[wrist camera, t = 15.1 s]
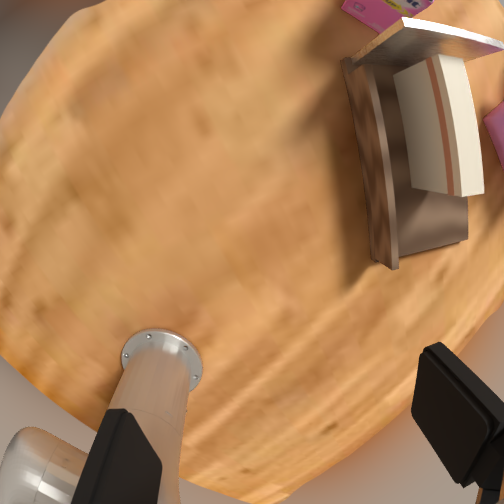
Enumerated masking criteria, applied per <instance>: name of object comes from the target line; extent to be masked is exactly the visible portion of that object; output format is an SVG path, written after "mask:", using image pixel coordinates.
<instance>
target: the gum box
mask: <svg viewBox="0 0 504 504" xmlns="http://www.w3.org/2000/svg"><path fill="white" fill-rule="evenodd" d="M433 2H434V0H345V2H344V3H343V5H342V7H341V9H342V10H344V11H345V12H347V13H349V14H350V15H352V16H354V17H355V18H356V19H358V20H359V21H361V22H363V23H364V24H366V25H367V26H369V27H370V28H372V29H374V30H375V31H376V32H378V33H379V34H381V33H382V32H384V31H385V30H386V29H387V28H389V27H390V26H391V25H393V24H394V23H395V22H397V21H398V20H399V19H401V18H402V17H404V18H412V17H413V16H415V15H416V14H418V13H419V12H421V11H423V10H424V9H426V8H427V7H428V6H430V5H431V4H432V3H433Z"/></svg>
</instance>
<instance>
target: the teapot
mask: <svg viewBox="0 0 504 504" xmlns="http://www.w3.org/2000/svg"><path fill="white" fill-rule="evenodd" d="M483 121H484V124H485V126H486V128H487V130H488V133H489V135H490V137H491V140H492V142H493V145H494V147H495V150H496V152H497V155H498V157H499V160H500V163H501V166H502V168H503V171H504V101H503V102H501V103H500V104H499V105H498V106H497V107H496V108H495V109H493V110H492V111H491V112H490V113H489V114H488V115H486V116H485V117H484V118H483Z"/></svg>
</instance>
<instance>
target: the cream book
mask: <svg viewBox="0 0 504 504" xmlns="http://www.w3.org/2000/svg"><path fill="white" fill-rule="evenodd" d="M393 78H394V83H395V87H396V91H397V96H398V101H399V106H400V111H401V116H402V121H403V127H404V133H405V139H406V146H407V152H408V160H409V168H410V176H411V186H412V188H416V189H422V190H428V191H433V192H439V193H444V194H448V195H452V196H460V197H465V196H471V195H477V194H484V180H483V167H482V157H481V148H480V140H479V133H478V126H477V120H476V114H475V109H474V104H473V99H472V94H471V90H470V85H469V81H468V77H467V73H466V69H465V66H464V62H463V58H458V57H453V56H447V55H441V54H437V55H435V56H433V57H429V58H427V59H425V60H424V61H422V62H419V63H417V64H415V65H413V66H411V67H409V68H407V69H405V70H402V71H400V72H398V73H396V74H394V75H393Z"/></svg>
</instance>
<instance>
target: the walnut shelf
mask: <svg viewBox="0 0 504 504" xmlns="http://www.w3.org/2000/svg"><path fill="white" fill-rule="evenodd" d="M340 62H341V66H342V70H343V74H344V78H345V82H346V86H347V91H348V95H349V100H350V105H351V110H352V115H353V120H354V125H355V131H356V136H357V142H358V148H359V154H360V160H361V167H362V174H363V181H364V189H365V197H366V206H367V215H368V225H369V236H370V249H371V260H373V261H374V262H381V263H382V264H384V265H385V266H386V267H388V268H389V269H391V270H396V269H399V257H400V256H404V255H409V254H413V253H417V252H421V251H425V250H429V249H433V248H436V247H440V246H444V245H448V244H452V243H456V242H459V241H463V240H467V239H468V200H467V196H465V197H460V196H452V195H448V194H444V193H439V192H433V191H428V190H422V189H416V188H412V186H411V176H410V168H409V160H408V152H407V146H406V139H405V133H404V127H403V121H402V116H401V111H400V106H399V101H398V96H397V91H396V87H395V83H394V78H393V75H394V74H396V73H398V72H400V71H402V70H405V69H407V68H409V67H411V66H399V65H374V64H352V60H351V58H343V59H342V60H341V61H340Z"/></svg>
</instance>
